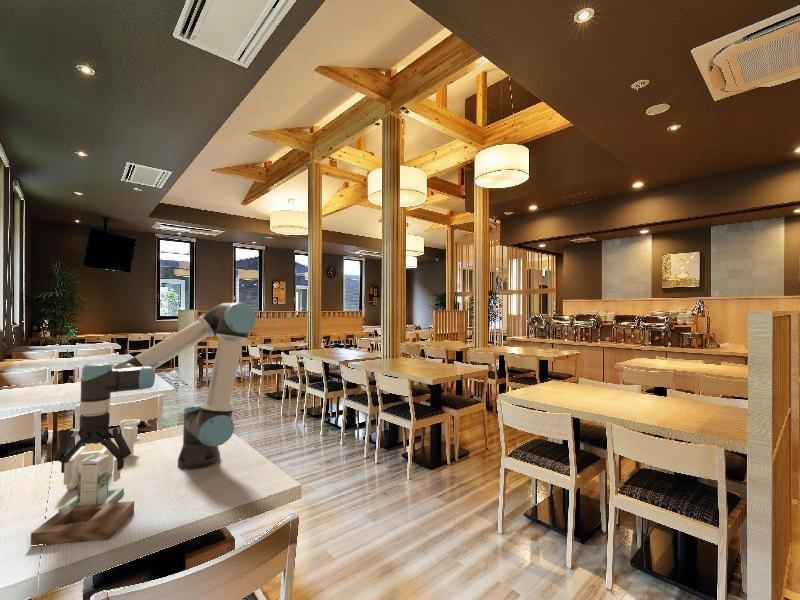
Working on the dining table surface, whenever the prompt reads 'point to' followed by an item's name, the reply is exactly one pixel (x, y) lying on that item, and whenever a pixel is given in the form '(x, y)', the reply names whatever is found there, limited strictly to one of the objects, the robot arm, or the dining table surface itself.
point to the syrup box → (93, 480)
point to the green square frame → (112, 498)
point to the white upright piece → (130, 433)
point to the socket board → (98, 527)
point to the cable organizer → (82, 455)
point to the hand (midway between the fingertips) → (92, 481)
